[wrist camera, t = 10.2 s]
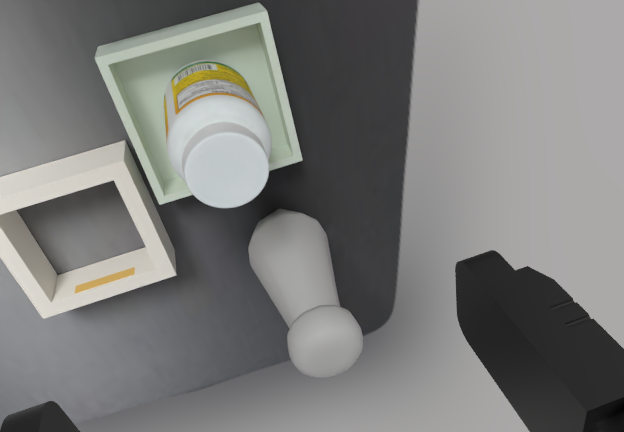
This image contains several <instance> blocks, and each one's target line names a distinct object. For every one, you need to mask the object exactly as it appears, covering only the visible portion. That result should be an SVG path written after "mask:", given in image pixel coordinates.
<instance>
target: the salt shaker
mask: <svg viewBox="0 0 624 432" xmlns="http://www.w3.org/2000/svg"><path fill="white" fill-rule="evenodd" d="M248 251H249V258H250V265H251V267H252V269H253V270H254V272H255V274H256V275H257V277H258V278H259V280H260V282H261V283H262V285H263V286H264V288H265V290H266V291H267V293H268V294H269V296H270V298H271V299H272V301H273V303H274V304H275V306H276V307H277V309H278V311H279V312H280V314H281V315H282V317H283V319H284V320H285V322H286V323H287V325H288V327H289V328H290V330H289V332H288V335H287V341H288V350H289V355H290V358H291V360H292V362H293V364H294V365H295V366H296V367H297V368H298V369H299V371H300V372H301V373H303V374H305V375H309V376H312V377H315V378H327V377H333V376H335V375H338V374H340V373H343V372H345V371H346V370H347V369H348V368H350V367H351V366H352V365H353V364H354V363H355V362H356V360H357V358H358V357H359V355H360V353H361V351H362V350H363V336H362V331H361V328H360V326H359V324H358V323H357V321H356V320H355V318H354V317H353V316H352V314H351V313H350V312H349V311H348V310H347V309H345V308H342V307H340V304H339V299H338V295H337V290H336V284H335V278H334V273H333V267H332V261H331V256H330V250H329V244H328V239H327V234H326V233H325V231H324V230H323V228H322V227H321V225H320V224H319V222H318V221H317V220H316V219H314V218H312V217H309V216H307V215H305V214H303V213H300V212H295V211H290V210H285V209H280V208H279V209H277V210H276V211H274V212H273V213H271V214H270V215H268V216H266V217H265V218H263V219H262V220H260V221H259V222H258V224H257V226H256V228H255V230H254V233H253V235H252V238H251V241H250V244H249V246H248Z"/></svg>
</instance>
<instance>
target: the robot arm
mask: <svg viewBox="0 0 624 432" xmlns="http://www.w3.org/2000/svg"><path fill="white" fill-rule="evenodd" d="M455 269H456V270H455V272H456V298H457V299H456V300H457V316H458V321H459V324H460V327H461V330H462V332H463V334H464V336H465V338H466V340H467V342H468V343H469V345H470V346H471V348H472V349H473V350H474V352H475V353H476V355H477V356H478V358H479V359H480V360H481V362H482V363H483V365H484V366H485V368H486V369H487V371H488V372H489V373H490V375H491V376H492V378H493V379H494V381H495V382H496V383H497V385H498V386H499V388H500V389H501V391H502V392H503V393H504V395H505V396H506V398H507V399H508V401H509V402H510V404H511V405H512V407H513V408H514V409H515V411H516V412H517V414H518V415H519V417H520V418H521V419H522V421H523V422H524V424H525V425H526V427H527V428H528V430H529V431H530V432H624V349H623V348H622V347H621V346H620V345H619V344H618V343H617V342H616V341H615V340H614V339H613V338H612V337H611V336H610V335H609V334H608V333H607V332H606V331H605V330H604V329H603V328H602V327H601V326H600V325H599V324H598V323H597V322H596V321H595V320H594V319H590V317H589V315H588V313H587V312H586V311H585V310H584V309H583V308H582V307H581V306H580V305H579V304H578V303H575V302H574V301H573V298H572V297H571V296H570V295H569V294H568V293H567V292H566V291H565V290H564V289H562V287H561V286H560V285H559V284H558V283H557V282H556V281H555V280H554V279H552V278H549V277H547V276H546V275H544V274H542V273H539V272H538V271H536V270H534V269H532V268H530V267H528V266H527V267H524V268H521V269H518V270H516V271H515V270H514V269H513V268H512V267H511V266H510V265H509V264H508V262H507V261H505V259H504V258H503V257H502V256H501V255H500V254H499V253H497V252H496V251H492V250H491V251H488V252H485V253H483V254H479V255H477V256H474V257H471V258H468V259H465V260H462V261H459V262H457V264H456V268H455ZM0 432H80V431H79V430H78V429H77V427H76V426H75V425H74V424H73V422H72V421H71V420H70V419H69V417H68V416H67V415H66V414H65V412H64V411H63V410H62V409H61V408H60V406H59V405H58V404H57V403H55V402H53V401H49V402H46V403H43V404H40V405H37V406H34V407H31V408H28V409H25V410H23V411H20V412H17V413H14V414H11V415H8V416H7V417H6V418H5V419H4V421H3V423H2V426H1V430H0Z"/></svg>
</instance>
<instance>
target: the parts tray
mask: <svg viewBox="0 0 624 432" xmlns="http://www.w3.org/2000/svg"><path fill="white" fill-rule="evenodd" d="M198 60H216V61H220V62H223V63H226V64H228V65H230V66H231V67H233V68H234V69H236V70H237V71H238V72H239V73H240V74H241V75H242V76H243V77H244V79H245V80H246V82H247V84H248V86H249V88H250V90H251V92H252V94H253V96H254V98H255V100H256V102H257V104H258V106H259V108H260V110H261V112H262V114H263V116H264V118H265V120H266V122H267V124H268V127H269V129H270V133H271V139H272V149H271V155H270V159H269V171H271V170H274V169H277V168H280V167H283V166H287V165H290V164H293V163H296V162H299V161H303V160H302V155H301V151H300V147H299V143H298V139H297V135H296V130H295V126H294V122H293V118H292V114H291V109H290V105H289V101H288V97H287V93H286V88H285V84H284V80H283V76H282V72H281V68H280V63H279V59H278V55H277V51H276V47H275V42H274V38H273V34H272V30H271V26H270V22H269V17H268V13H267V10H266V9H265V8H264V7H263V6H262V5H261V4H260V3H259V2H258V3H254V4H251V5H247V6H243V7H240V8H236V9H232V10H229V11H225V12H222V13H218V14H214V15H211V16H207V17H203V18H200V19H196V20H192V21H189V22H185V23H181V24H178V25H174V26H171V27H167V28H163V29H160V30H156V31H152V32H149V33H145V34H141V35H138V36H134V37H131V38H127V39H123V40H120V41H116V42H112V43H109V44H105V45H101V46H98V48H97V52H96V55H95V61H96V63H97V65H98V67H99V70H100V72H101V74H102V76H103V79H104V81H105V83H106V85H107V88H108V90H109V92H110V94H111V97H112V99H113V101H114V104H115V106H116V108H117V110H118V113H119V115H120V117H121V119H122V122H123V124H124V126H125V128H126V131H127V133H128V135H129V137H130V140H131V142H132V144H133V146H134V149H135V151H136V153H137V156H138V158H139V160H140V162H141V165H142V167H143V169H144V171H145V174H146V176H147V178H148V180H149V183H150V185H151V187H152V189H153V192H154V194H155V196H156V198H157V201H158V203H159V205H161V204H164V203H168V202H171V201H174V200H177V199H180V198H184V197H187V196H190V195H193V194H192V193H191V192H190V190H189V188H188V186H187V184H186V182H185V181H183V180H182V179H181V178H180V177H179V175H178V174H177V173H176V171H175V170H174V168H173V167H172V164H171V162H170V160H169V156H168V152H167V142H166V127H165V115H164V94H165V90H166V87H167V84H168V82H169V80H170V79H171V77H172V76H173V75H174V74H175V73H176V72H177V71H178V70H179V69H180V68H181V67H183V66H185V65H187V64H189V63H191V62H194V61H198Z"/></svg>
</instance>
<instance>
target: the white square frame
mask: <svg viewBox="0 0 624 432" xmlns="http://www.w3.org/2000/svg"><path fill="white" fill-rule="evenodd" d="M113 180H114V182H115V184H116V186H117V188H118V190H119V192H120V194H121V196H122V198H123V200H124V203H125V205H126V207H127V209H128V211H129V213H130V215H131V217H132V219H133V221H134V223H135V225H136V227H137V229H138V231H139V233H140V235H141V237H142V240H143V242H144V244H145V246H146V247H144V248H141V249H138V250H135V251H132V252H129V253H126V254H122V255H119V256H116V257H113V258H110V259H107V260H104V261H100V262H97V263H94V264H91V265H88V266H85V267H82V268H78V269H75V270H72V271H69V272H66V273H63V274H60V275H57V273H56V272H55V270H54V268H53V267H52V265H51V264H50V262H49V261H48V259H47V257H46V256H45V254H44V253H43V251H42V250H41V248H40V246H39V245H38V243H37V242H36V240H35V239H34V237H33V235H32V234H31V232H30V231H29V229H28V228H27V226H26V224H25V223H24V221H23V220H22V218H21V217H20V215H19V213H18V212H17V209H20V208H24V207H27V206H30V205H34V204H37V203H40V202H44V201H47V200H50V199H53V198H57V197H60V196H63V195H67V194H70V193H73V192H77V191H80V190H83V189H86V188H90V187H93V186H96V185H100V184H103V183H106V182H110V181H113ZM0 258H1V259H2V260H3V262H4V263H5V265H6V266H7V268H8V269H9V270H10V272H11V273H12V275H13V276H14V278H15V279H16V280H17V282H18V283H19V285H20V286H21V288H22V289H23V290H24V292H25V293H26V295H27V296H28V298H29V299H30V300H31V302H32V303H33V305H34V306H35V308H36V309H37V310H38V312H39V313H40V315H41V316H42V318H43V319H44V318H47V317H51V316H54V315H57V314H60V313H63V312H66V311H69V310H72V309H75V308H78V307H81V306H84V305H87V304H90V303H93V302H96V301H100V300H103V299H106V298H109V297H112V296H115V295H118V294H121V293H124V292H127V291H130V290H133V289H136V288H139V287H142V286H145V285H148V284H152V283H155V282H158V281H161V280H164V279H167V278H170V277H173V276H176V275H177V273H176V260H175V250H174V247H173V245H172V243H171V241H170V239H169V236H168V234H167V232H166V230H165V227H164V225H163V223H162V221H161V219H160V216H159V214H158V212H157V210H156V207H155V205H154V203H153V201H152V198H151V196H150V194H149V192H148V190H147V187H146V185H145V183H144V181H143V178H142V176H141V174H140V172H139V169H138V167H137V165H136V163H135V161H134V158H133V156H132V154H131V152H130V149H129V147H128V145H127V143H126V141H125V140H124V141H121V142H117V143H114V144H110V145H107V146H104V147H100V148H97V149H93V150H90V151H87V152H83V153H80V154H77V155H73V156H70V157H66V158H63V159H60V160H56V161H53V162H49V163H46V164H43V165H39V166H36V167H33V168H29V169H26V170H22V171H19V172H16V173H12V174H9V175H5V176H2V177H0Z"/></svg>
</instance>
